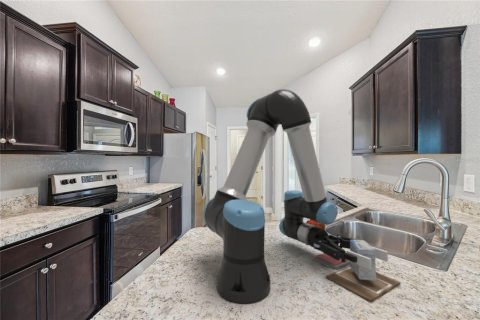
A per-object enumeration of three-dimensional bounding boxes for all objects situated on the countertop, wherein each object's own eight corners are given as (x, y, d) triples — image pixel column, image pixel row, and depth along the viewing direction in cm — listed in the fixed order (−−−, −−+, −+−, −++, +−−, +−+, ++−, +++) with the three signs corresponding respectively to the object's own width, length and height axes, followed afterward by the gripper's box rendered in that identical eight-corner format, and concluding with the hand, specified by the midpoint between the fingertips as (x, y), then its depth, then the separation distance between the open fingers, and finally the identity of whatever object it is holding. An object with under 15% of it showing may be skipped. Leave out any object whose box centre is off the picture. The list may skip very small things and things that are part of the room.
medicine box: (376, 281, 58) (376, 250, 58) (358, 279, 59) (358, 248, 59) (365, 267, 65) (365, 240, 66) (349, 266, 66) (349, 239, 66)
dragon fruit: (327, 237, 104) (305, 242, 102) (318, 223, 111) (297, 227, 109) (332, 226, 99) (309, 231, 97) (322, 212, 106) (300, 217, 104)
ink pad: (335, 270, 68) (335, 266, 68) (313, 259, 76) (313, 255, 76) (353, 263, 73) (353, 259, 73) (330, 253, 81) (330, 250, 81)
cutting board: (370, 302, 52) (370, 299, 52) (326, 278, 63) (326, 275, 63) (400, 284, 60) (400, 281, 60) (356, 265, 72) (356, 263, 72)
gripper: (331, 241, 83) (397, 264, 63) (292, 252, 72) (357, 284, 53) (331, 222, 83) (397, 240, 64) (292, 230, 72) (357, 254, 53)
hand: (379, 260), depth 58 cm, fingers closed on medicine box, 8 cm apart
